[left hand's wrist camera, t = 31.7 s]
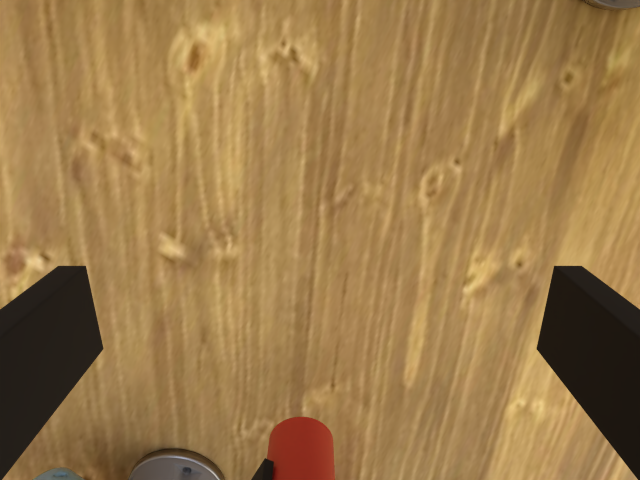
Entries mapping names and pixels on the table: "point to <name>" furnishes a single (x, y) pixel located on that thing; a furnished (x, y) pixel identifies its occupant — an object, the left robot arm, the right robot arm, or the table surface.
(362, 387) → the table surface
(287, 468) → the can
